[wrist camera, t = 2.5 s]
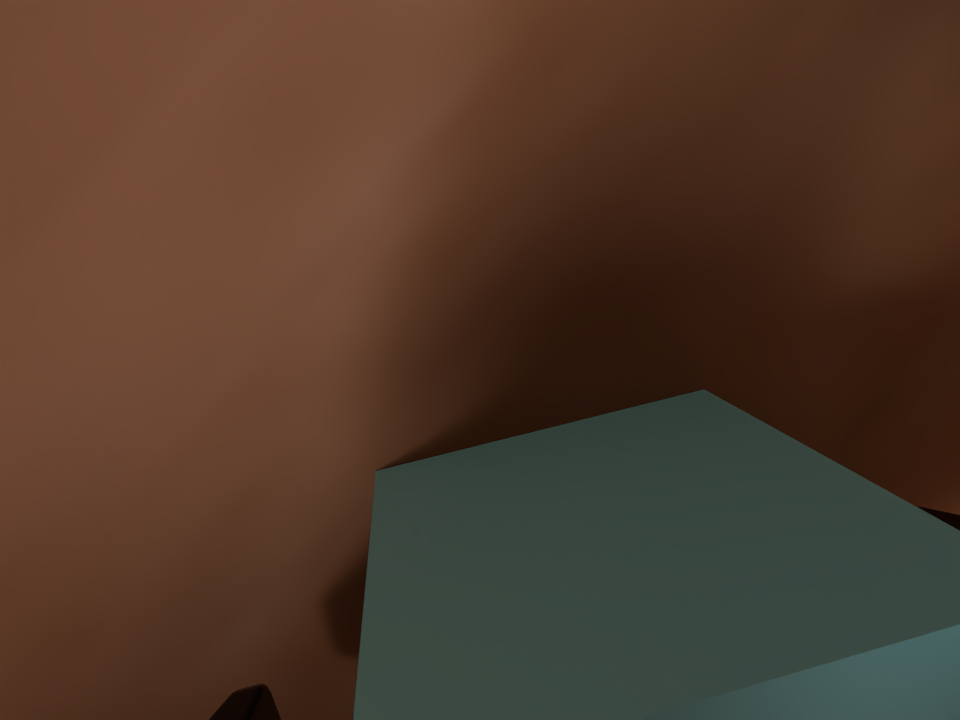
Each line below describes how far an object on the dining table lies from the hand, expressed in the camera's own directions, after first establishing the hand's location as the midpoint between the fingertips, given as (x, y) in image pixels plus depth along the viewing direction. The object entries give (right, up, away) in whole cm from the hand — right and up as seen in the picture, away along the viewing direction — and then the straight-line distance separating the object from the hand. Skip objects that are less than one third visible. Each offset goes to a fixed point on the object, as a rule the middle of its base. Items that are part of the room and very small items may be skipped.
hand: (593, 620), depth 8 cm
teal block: (0, 0, +1) cm, 1 cm away
